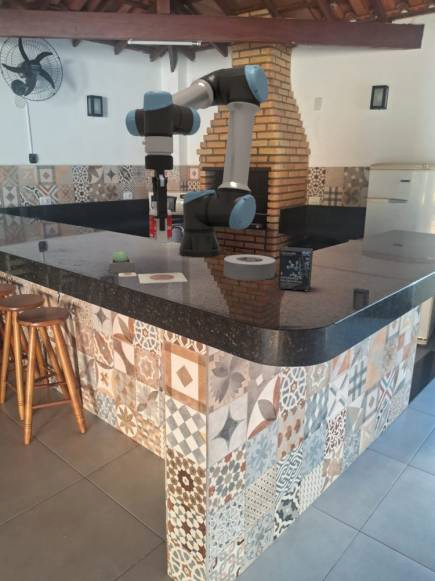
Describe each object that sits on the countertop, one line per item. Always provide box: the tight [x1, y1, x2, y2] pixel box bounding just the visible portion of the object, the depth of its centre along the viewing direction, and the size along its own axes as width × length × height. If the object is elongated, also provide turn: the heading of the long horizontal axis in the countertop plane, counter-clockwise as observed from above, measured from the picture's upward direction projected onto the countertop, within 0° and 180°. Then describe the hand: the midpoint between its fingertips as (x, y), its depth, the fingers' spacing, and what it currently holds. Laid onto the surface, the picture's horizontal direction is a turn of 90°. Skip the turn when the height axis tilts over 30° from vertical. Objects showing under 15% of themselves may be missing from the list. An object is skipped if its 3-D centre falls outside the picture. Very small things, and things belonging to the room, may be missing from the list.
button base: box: [108, 258, 135, 274], centre depth 135 cm, size 7×7×3 cm
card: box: [118, 272, 137, 278], centre depth 130 cm, size 5×4×1 cm
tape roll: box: [223, 254, 276, 282], centre depth 131 cm, size 15×15×5 cm
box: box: [277, 246, 314, 291], centre depth 115 cm, size 8×6×11 cm
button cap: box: [113, 250, 129, 263], centre depth 135 cm, size 4×4×4 cm
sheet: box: [137, 272, 188, 285], centre depth 126 cm, size 13×11×1 cm
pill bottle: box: [148, 201, 173, 244], centre depth 122 cm, size 6×6×11 cm
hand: (160, 240), depth 123 cm, fingers closed on pill bottle, 6 cm apart
